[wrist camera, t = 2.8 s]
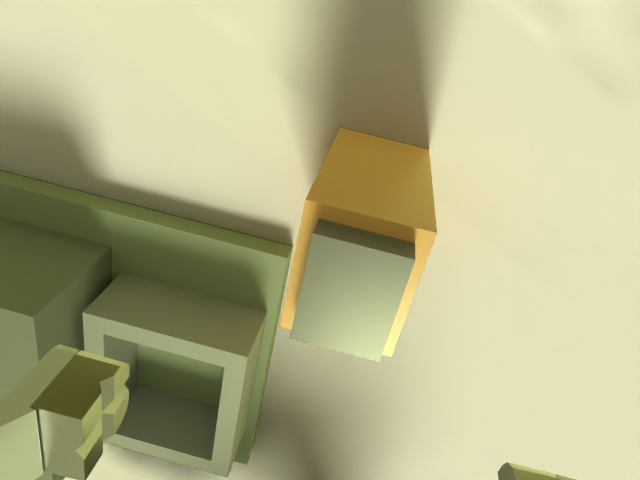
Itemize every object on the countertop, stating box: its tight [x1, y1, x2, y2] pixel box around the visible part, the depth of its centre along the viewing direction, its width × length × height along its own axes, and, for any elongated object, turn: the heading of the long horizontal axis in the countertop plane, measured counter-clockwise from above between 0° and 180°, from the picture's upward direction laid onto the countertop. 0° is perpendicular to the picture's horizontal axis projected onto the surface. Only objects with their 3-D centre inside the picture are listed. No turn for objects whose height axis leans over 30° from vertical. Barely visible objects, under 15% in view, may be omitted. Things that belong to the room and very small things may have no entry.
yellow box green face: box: [280, 128, 437, 362], centre depth 19 cm, size 4×5×9 cm
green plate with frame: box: [0, 170, 293, 480], centre depth 26 cm, size 18×16×7 cm
